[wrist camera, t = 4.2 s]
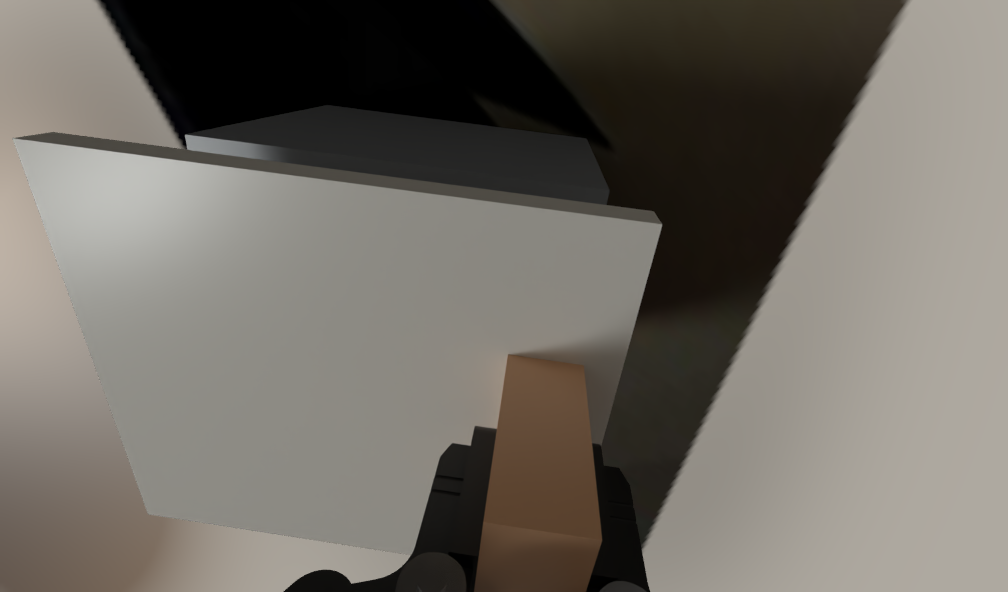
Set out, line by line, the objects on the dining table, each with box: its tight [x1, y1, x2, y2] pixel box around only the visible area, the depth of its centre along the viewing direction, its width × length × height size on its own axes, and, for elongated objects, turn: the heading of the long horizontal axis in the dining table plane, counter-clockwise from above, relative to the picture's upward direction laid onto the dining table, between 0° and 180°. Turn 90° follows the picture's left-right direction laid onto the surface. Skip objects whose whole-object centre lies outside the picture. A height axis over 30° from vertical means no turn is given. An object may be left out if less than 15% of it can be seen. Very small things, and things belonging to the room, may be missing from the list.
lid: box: [13, 132, 662, 592], centre depth 12 cm, size 13×15×7 cm
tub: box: [185, 105, 610, 205], centre depth 23 cm, size 12×14×11 cm
